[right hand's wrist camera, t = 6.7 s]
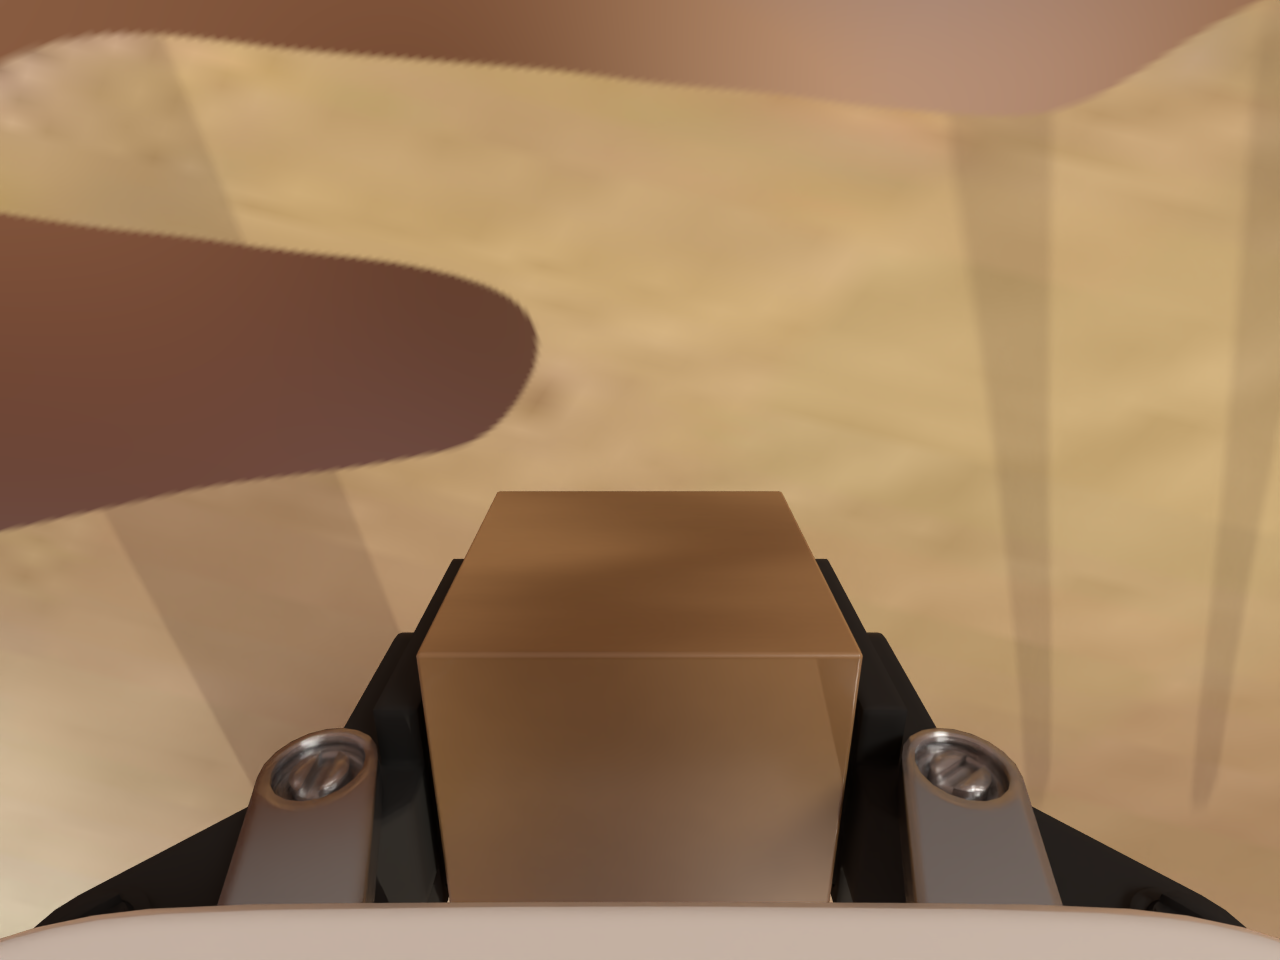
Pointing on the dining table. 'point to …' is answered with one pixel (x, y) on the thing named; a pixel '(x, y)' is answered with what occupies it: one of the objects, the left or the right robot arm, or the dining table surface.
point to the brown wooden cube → (639, 702)
